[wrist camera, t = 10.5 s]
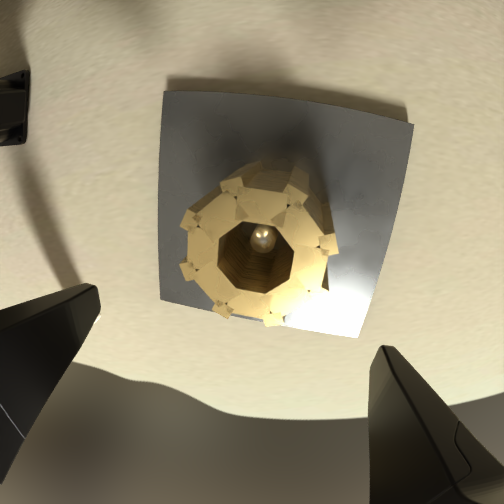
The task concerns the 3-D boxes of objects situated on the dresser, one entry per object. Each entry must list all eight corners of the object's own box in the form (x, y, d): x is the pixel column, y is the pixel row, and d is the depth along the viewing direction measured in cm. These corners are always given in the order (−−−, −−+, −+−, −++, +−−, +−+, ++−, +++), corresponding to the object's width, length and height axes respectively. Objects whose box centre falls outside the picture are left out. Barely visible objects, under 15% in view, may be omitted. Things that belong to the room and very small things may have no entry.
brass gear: (209, 264, 20) (179, 308, 15) (216, 155, 17) (181, 169, 12) (317, 284, 19) (316, 335, 14) (340, 173, 16) (351, 194, 11)
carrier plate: (166, 292, 22) (141, 323, 19) (170, 92, 16) (137, 88, 13) (356, 328, 21) (361, 367, 17) (408, 124, 15) (434, 125, 11)
